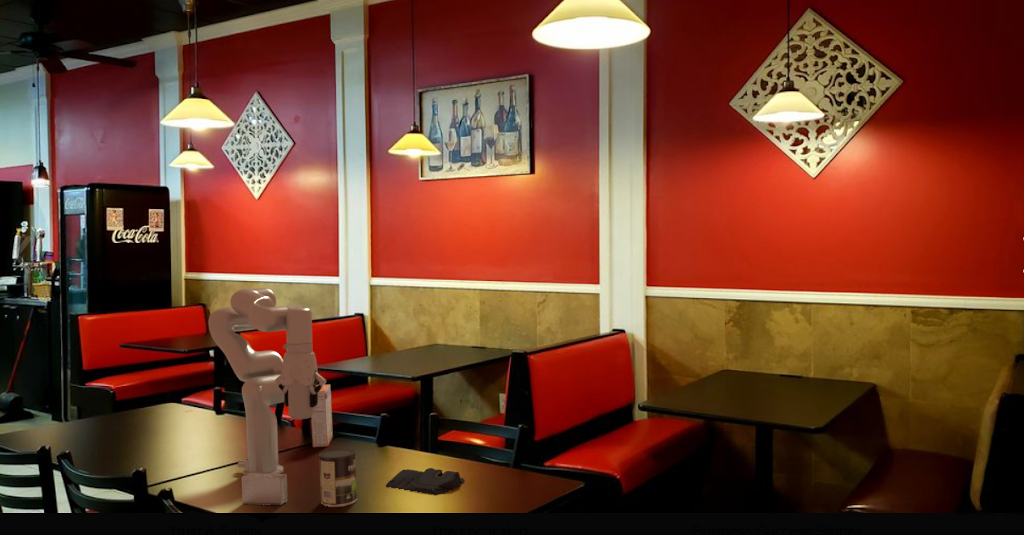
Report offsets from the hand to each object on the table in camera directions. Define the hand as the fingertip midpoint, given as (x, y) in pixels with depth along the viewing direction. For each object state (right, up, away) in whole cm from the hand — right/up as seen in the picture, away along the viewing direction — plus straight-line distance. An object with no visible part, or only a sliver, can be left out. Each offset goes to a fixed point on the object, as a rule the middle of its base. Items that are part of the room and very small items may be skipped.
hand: (301, 405), depth 243 cm
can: (0, -4, 0) cm, 4 cm away
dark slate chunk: (+38, -25, +1) cm, 45 cm away
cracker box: (-7, -24, +56) cm, 61 cm away
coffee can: (+14, -25, -14) cm, 32 cm away
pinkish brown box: (-7, -26, -13) cm, 30 cm away
